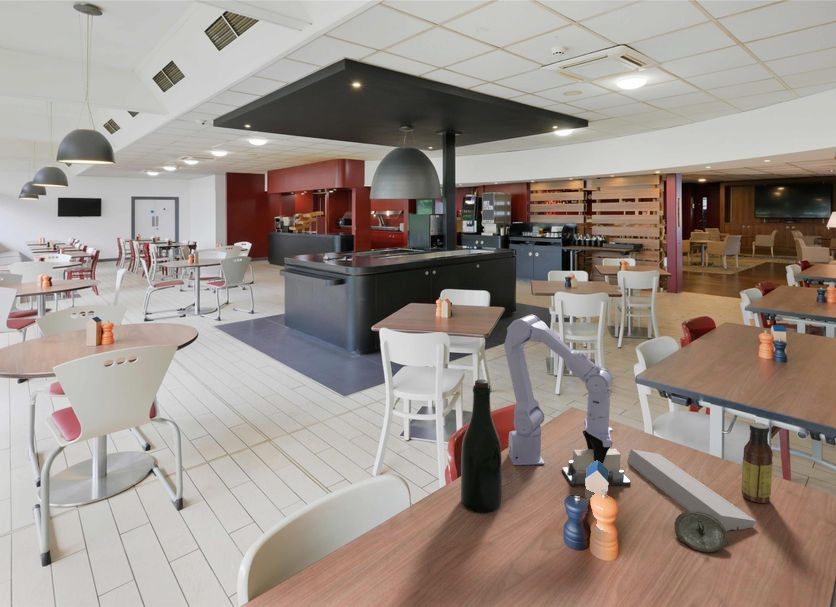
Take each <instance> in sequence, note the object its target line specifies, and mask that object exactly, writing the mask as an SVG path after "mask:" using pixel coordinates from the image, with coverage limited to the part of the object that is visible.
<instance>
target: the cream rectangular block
mask: <svg viewBox="0 0 836 607" xmlns="http://www.w3.org/2000/svg"><path fill="white" fill-rule="evenodd" d="M621 455H622V454H621V453H620V452H619V451H618V449H616V448H609V450H608V452H607V454H606V456H605V459H604V462H603V465H604V466H605V467H606V468H607V469H608V471H612V470H621ZM572 461H573V467H574V469H575V470H576V471H586V468H587V467H588V466H589V465H590V464H591V463H593V462H594V453H593V449H588V448H586V449H585V448H584V449H572Z"/></svg>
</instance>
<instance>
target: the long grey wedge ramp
mask: <svg viewBox="0 0 836 607" xmlns="http://www.w3.org/2000/svg"><path fill="white" fill-rule="evenodd" d="M626 464H628V465H630V466H631V468H633V469H634V470H636V471H637V472H638V473H639V474H641V475H642V476H643V477H644V478H646V479H647V480H648V481H650V482H651V483H652V484H653V485H654V486H655V487H657V488H658V489H659V490H661V491H662V492H663V493H665V494H666V495H667V496H669V497H670V498H671V499H673V500H674V501H675V502H676V503H678V504H679V505H680V506H681V507H683V509H685V510H686V511H687V512H692V511H696V512H701V513H706V514H708V515H710V516H712V517H714V518H715V519H716V520H718V521H719V522H720V523H721V524H722V525H723V526H724V528H725V529H726V531H727V532H729V531H731V530H734V531H737V530H746V529H751V528H752V529H753V527H754V526H755V525H756V522H757V520H756V519H754V518H753V517H751V516H750V515H748V514H747V513H745V512H744V511H743V510H742V509H740V508H739V507H737V506H736V505H734V504H732V503H731V502H730V501H729V500H727V499H725V497H722V496H721V495H719V494H718V493H716V492H715V491H713V490H712V489H710V488H709V487H708V486H707V485H705V484H703V483H702V482H700V481H699V480H698V479H696V478H695V477H694V476H692V475H690V474H689V473H687V472H686V471H684V469H682V468H681V467H679V466H677V465H676V464H674V463H673V462H671V461H670V460H669V459H667V458H665V457H664V456H663V455H662V454H660V453H655V452H649V451H643V450H637V449H632V448H631V449H630V451H629V455H628V458H627V460H626Z"/></svg>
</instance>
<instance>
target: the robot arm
mask: <svg viewBox="0 0 836 607" xmlns="http://www.w3.org/2000/svg"><path fill="white" fill-rule="evenodd" d="M506 330H507V333H506V336H505V340H504V346H503V347H504V351H505V356H506V360H507V365H508V370H509V374H510V380H511V383H512V387H513V388H512V389H513V392H514V397H515V398H514V399H515V407H514V410H513V415H514V417H513V418H514V419H513V423H512V424H513V427H514V429H515V430H512V431H509V433H508V450H507V454H508V456H509V460H510V461H511V464H512V465H513V466H528V465H529V466H530V465H545V464H546V463H545V460H544V458H542V455H541V453H542V452H541V448H542V446H541V444H542V429H541V425H542V424H543V423H544V422H545V413H544V411H543V410H542V408H541V407H540V403H539V401H538V400H537V399H535V397H534V392H533V388H532V383H531V379H530V373H529V368H528V364H527V360H526V355H525V351H524V347H525V346H526V345H527V343H529V342H533V343H543V344H544V345H545V346H546V347H548V348H549V349H551V351H552V352H554V353H556V354H557V356H559V357H560V358H562V359H563V360H564V364H565V367H566V368H567V369H568V370H570V372H572V373H573V374H574V375H575V376H576V377H577V378H578V379H579V380H581V381H582V382H583V383H584V384H585V388H586V390H587V393H588V394H587V395H588V396H587V408H586V409H587V412H586V418H584V422H583V425H584V427H585V429H584V430H582V435H583V437H584V439H585V442H586V446H587V449H593V453H594V461H596V460H598V461H600V462H601V463H602V464H603V462H604V459H605V456H606V454H607V452H608V450H609V449H611V448H612V447H613V440H612V439H611V434H610V433H613V431H614V430H613V428H612V427H611V426H609V425H610V410H611V409H610V406H611V398H610V396H611V390H610V388H611V387H612V386H613V383H614V379H613V378H614V377H613V375H612V373H611V372H610V371H609V370H608V369H606V368H602V367H601V366H599V365H596V364H595V363H594V362H593V361H592V360H590V358H588V354H587V353H585V352H583V353H582V352H581V351H579V350H577V351H574V350H573V349H572V348H570V347H569V346H568V345H567V344H566V343H565V342H564V341H563V340H562V339H561V338H560V337H559V336H558V335H556V334H555V333H554V331H552V329H551V328H549V326H548V325H547V324H546V323H545V322H544V321H543V320H540V318H539V317H538V316H536V315H534V314H527V315H525V316H523V317H521V318H518V319H514V320H513V321H512V322H510V324H509V325H508V326H507V327H506Z"/></svg>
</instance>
